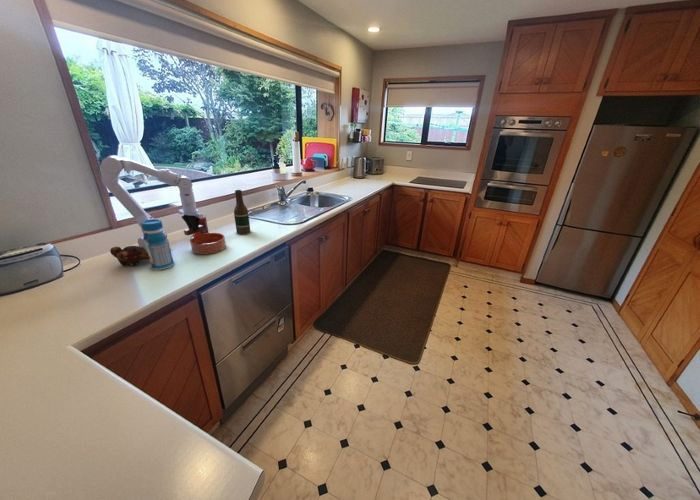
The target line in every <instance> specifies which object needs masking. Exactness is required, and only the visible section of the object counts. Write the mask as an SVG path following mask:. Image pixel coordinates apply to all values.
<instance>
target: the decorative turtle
mask: <svg viewBox="0 0 700 500" xmlns="http://www.w3.org/2000/svg"><path fill="white" fill-rule="evenodd" d="M109 252H110V254H111V255H112V256H113V258H115V259H116V260H117V261H118V263H120V265H121V266H123V267H125V266H127V265H128V264H130V265H131V266H134V267H135V266H138V264H139V262H141V261H150V258H149V255H148V253H147V251H146V250H145V249H144V248H142V247H139V245H128V246H124V247H123V248H122V247H120V246H113V247H111V248H110V250H109Z"/></svg>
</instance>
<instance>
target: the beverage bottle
mask: <svg viewBox="0 0 700 500" xmlns="http://www.w3.org/2000/svg"><path fill="white" fill-rule="evenodd" d="M141 224H142V228H143V230H144V231H145V234H144V237H143V239H144V241H145V247H146V248H147V252H148V255H149V258H150V260H149V262H150V266H151V269H153V270H156V271H159V270H160V271H161V270H166V269H169V268H171V267H173V266H174V264H175V261H174V259H173V253H172V251H171V250H172V249H171V245H170V241H169V240H170V239H168V234H167V233H166V232H165V230H163V228H164V227H163V222H162V220H161V219H158V218H155V219H151V220H146V221H143V222H142V223H141ZM170 249H171V250H170Z"/></svg>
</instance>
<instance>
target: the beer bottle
mask: <svg viewBox="0 0 700 500" xmlns="http://www.w3.org/2000/svg"><path fill="white" fill-rule="evenodd" d="M234 194H235V202H236V203H235V207H234V210H233V216H234V224H235V230H236V234H237V235H241V236H242V235H248V234H250V233H251V224H250V223H251V222H250V216H249V210H248V207H247V206H246V205H245V203H244V199H243V191H242V189H235V191H234Z"/></svg>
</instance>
